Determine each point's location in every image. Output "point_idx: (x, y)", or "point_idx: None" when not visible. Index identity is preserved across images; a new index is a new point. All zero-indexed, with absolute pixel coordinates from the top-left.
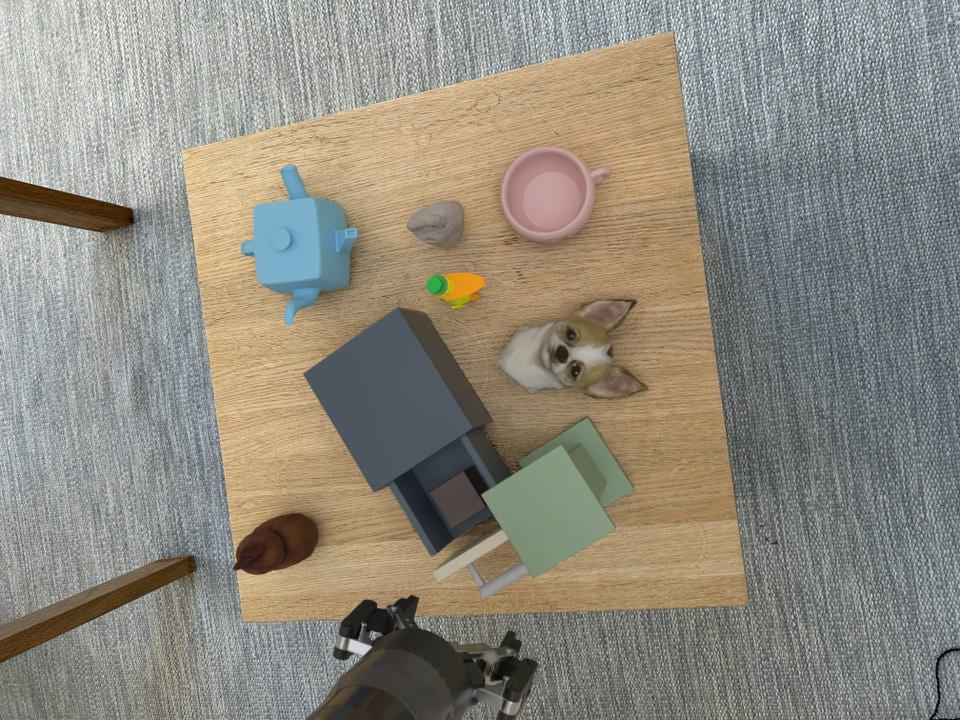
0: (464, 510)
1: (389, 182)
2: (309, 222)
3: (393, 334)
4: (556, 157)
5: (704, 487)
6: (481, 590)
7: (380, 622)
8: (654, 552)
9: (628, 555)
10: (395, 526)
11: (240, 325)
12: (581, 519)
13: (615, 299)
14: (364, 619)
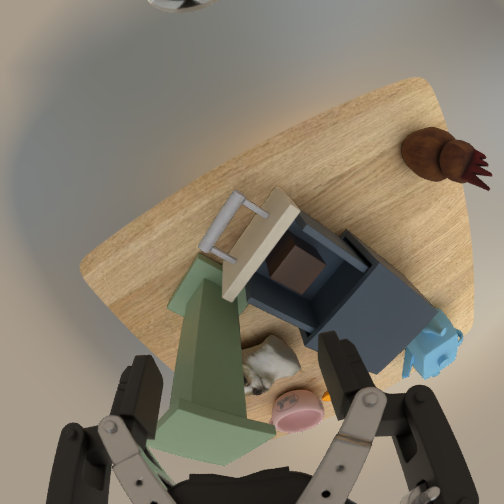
0: (289, 266)
1: (383, 370)
2: (428, 371)
3: (378, 363)
4: (298, 421)
5: (130, 318)
6: (241, 199)
7: (383, 428)
8: (130, 267)
9: (144, 257)
10: (342, 187)
11: (461, 271)
12: (172, 445)
13: None
14: (409, 490)
